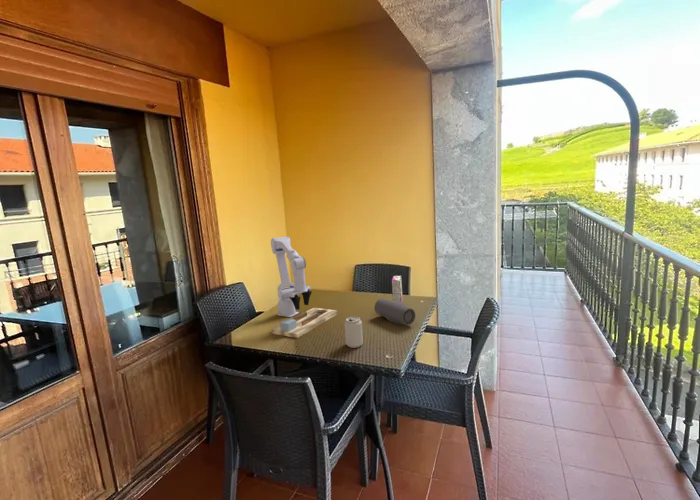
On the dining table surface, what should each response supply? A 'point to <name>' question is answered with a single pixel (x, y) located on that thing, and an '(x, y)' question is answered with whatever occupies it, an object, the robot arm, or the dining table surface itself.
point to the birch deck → (300, 330)
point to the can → (353, 332)
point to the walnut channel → (306, 319)
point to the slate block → (288, 325)
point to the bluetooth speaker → (395, 311)
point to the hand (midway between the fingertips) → (301, 307)
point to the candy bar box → (397, 289)
